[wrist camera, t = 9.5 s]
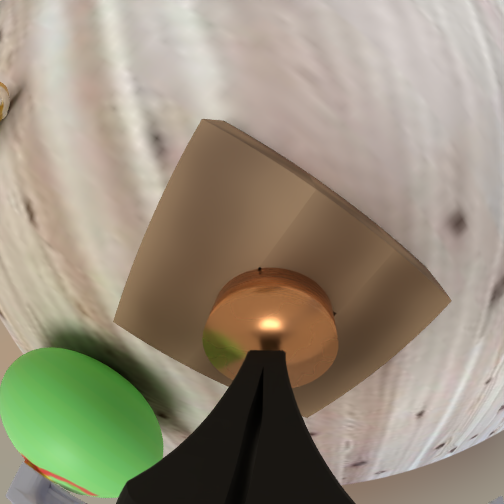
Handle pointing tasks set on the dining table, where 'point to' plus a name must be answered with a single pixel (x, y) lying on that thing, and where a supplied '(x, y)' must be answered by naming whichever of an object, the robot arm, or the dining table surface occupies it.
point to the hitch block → (271, 260)
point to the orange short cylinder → (272, 323)
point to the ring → (4, 101)
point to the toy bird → (78, 421)
